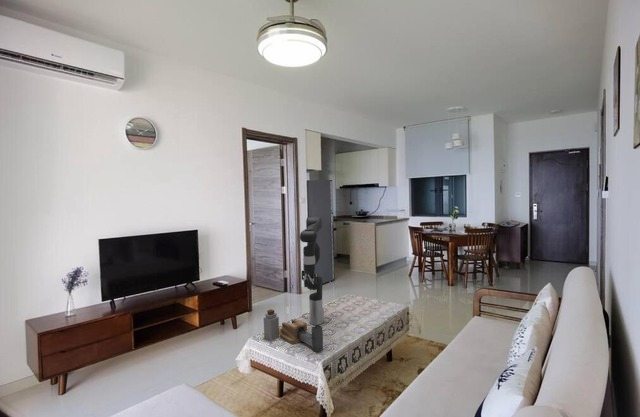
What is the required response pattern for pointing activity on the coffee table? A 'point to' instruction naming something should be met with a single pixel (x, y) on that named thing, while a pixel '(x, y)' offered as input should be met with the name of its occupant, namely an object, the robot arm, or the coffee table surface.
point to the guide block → (292, 331)
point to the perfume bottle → (271, 325)
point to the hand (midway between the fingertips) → (310, 288)
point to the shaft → (312, 337)
